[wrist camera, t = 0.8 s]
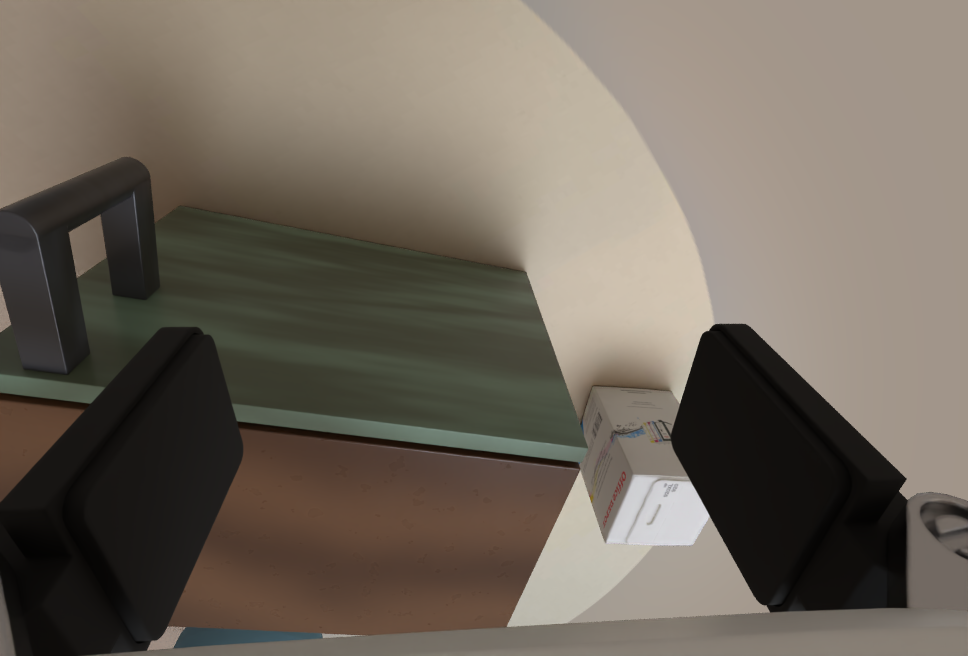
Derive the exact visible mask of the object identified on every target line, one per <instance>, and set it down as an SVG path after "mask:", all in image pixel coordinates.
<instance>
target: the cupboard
mask: <svg viewBox="0 0 968 656" xmlns="http://www.w3.org/2000/svg"><path fill="white" fill-rule="evenodd" d="M89 405H90V403H82V402H73V401H65V400H57V399H48V398H40V397H32V396H23V395H15V394H7V393H0V502H1V501H2V500H3V499H4V498H5V497H6V496H7V495H8V493H9V492H10V491H11V490H12V489H13V488H14V487H15V486H16V485H17V484H18V483H19V481H20V480H21V479H22V478H23V477H24V476H25V475H26V474H27V473H28V472H29V471H30V469H31V468H32V467H33V466H34V465H35V464H36V463H37V462H38V461H39V460H40V459H41V457H42V456H43V455H44V454H45V453H46V452H47V451H48V450H49V449H50V448H51V447H52V445H53V444H54V443H55V442H56V441H57V440H58V439H59V438H60V437H61V436H62V435H63V433H64V432H65V431H66V430H67V429H68V428H69V427H70V426H71V425H72V424H73V423H74V421H75V420H76V419H77V418H78V417H79V416H80V415H81V414H82V413H83V412H84V410H85V409H86V408H87V407H88V406H89ZM237 423H238V427H239V431H240V434H241V438H242V441H243V458H242V461H241V464H240V466H239V468H238V471H237V473H236V475H235V477H234V479H233V482H232V484H231V486H230V488H229V491H228V493H227V495H226V497H225V500H224V502H223V504H222V506H221V508H220V511H219V513H218V515H217V517H216V520H215V522H214V524H213V526H212V528H211V531H210V533H209V535H208V537H207V540H206V542H205V544H204V546H203V548H202V551H201V553H200V555H199V557H198V560H197V562H196V564H195V566H194V568H193V571H192V573H191V575H190V577H189V580H188V582H187V584H186V586H185V588H184V591H183V593H182V595H181V597H180V600H179V602H178V604H177V606H176V608H175V611H174V613H173V615H172V617H171V620H170V622H169V624H168V626H176V627H197V628H218V629H240V630H261V631H283V632H304V633H325V634H347V635H384V634H399V633H416V632H433V631H450V630H466V629H483V628H500V627H507V624H508V622H509V620H510V618H511V616H512V614H513V612H514V610H515V607H516V605H517V603H518V601H519V599H520V597H521V595H522V593H523V590H524V588H525V586H526V584H527V582H528V580H529V578H530V576H531V573H532V571H533V569H534V567H535V565H536V563H537V561H538V558H539V556H540V554H541V552H542V550H543V548H544V546H545V544H546V541H547V539H548V537H549V535H550V533H551V531H552V529H553V527H554V524H555V522H556V520H557V518H558V516H559V514H560V512H561V510H562V507H563V505H564V503H565V501H566V499H567V497H568V495H569V493H570V490H571V488H572V486H573V484H574V482H575V480H576V478H577V476H578V473H579V471H580V466H579V462H572V461H564V460H555V459H547V458H539V457H530V456H522V455H514V454H506V453H497V452H489V451H481V450H472V449H464V448H456V447H447V446H439V445H431V444H422V443H414V442H406V441H397V440H389V439H381V438H373V437H364V436H356V435H348V434H339V433H331V432H323V431H314V430H306V429H298V428H289V427H281V426H273V425H264V424H256V423H248V422H240V421H237Z"/></svg>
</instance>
